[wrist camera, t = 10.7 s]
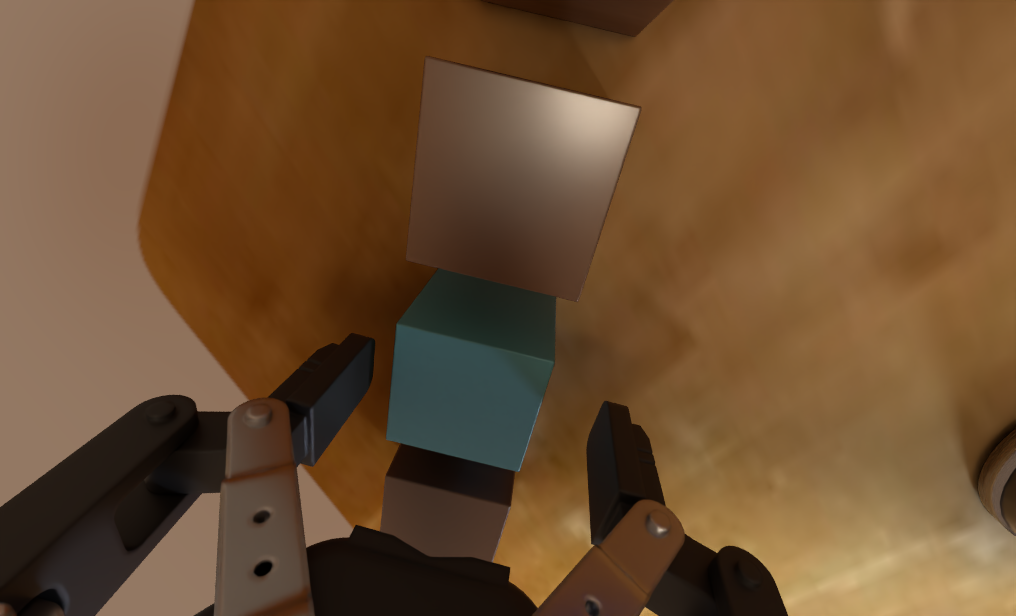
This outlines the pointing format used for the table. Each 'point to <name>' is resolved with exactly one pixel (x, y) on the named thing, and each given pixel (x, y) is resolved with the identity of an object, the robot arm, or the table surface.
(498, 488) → the walnut block
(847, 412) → the table surface
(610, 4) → the walnut block
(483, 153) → the walnut block
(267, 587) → the robot arm
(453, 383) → the teal block
